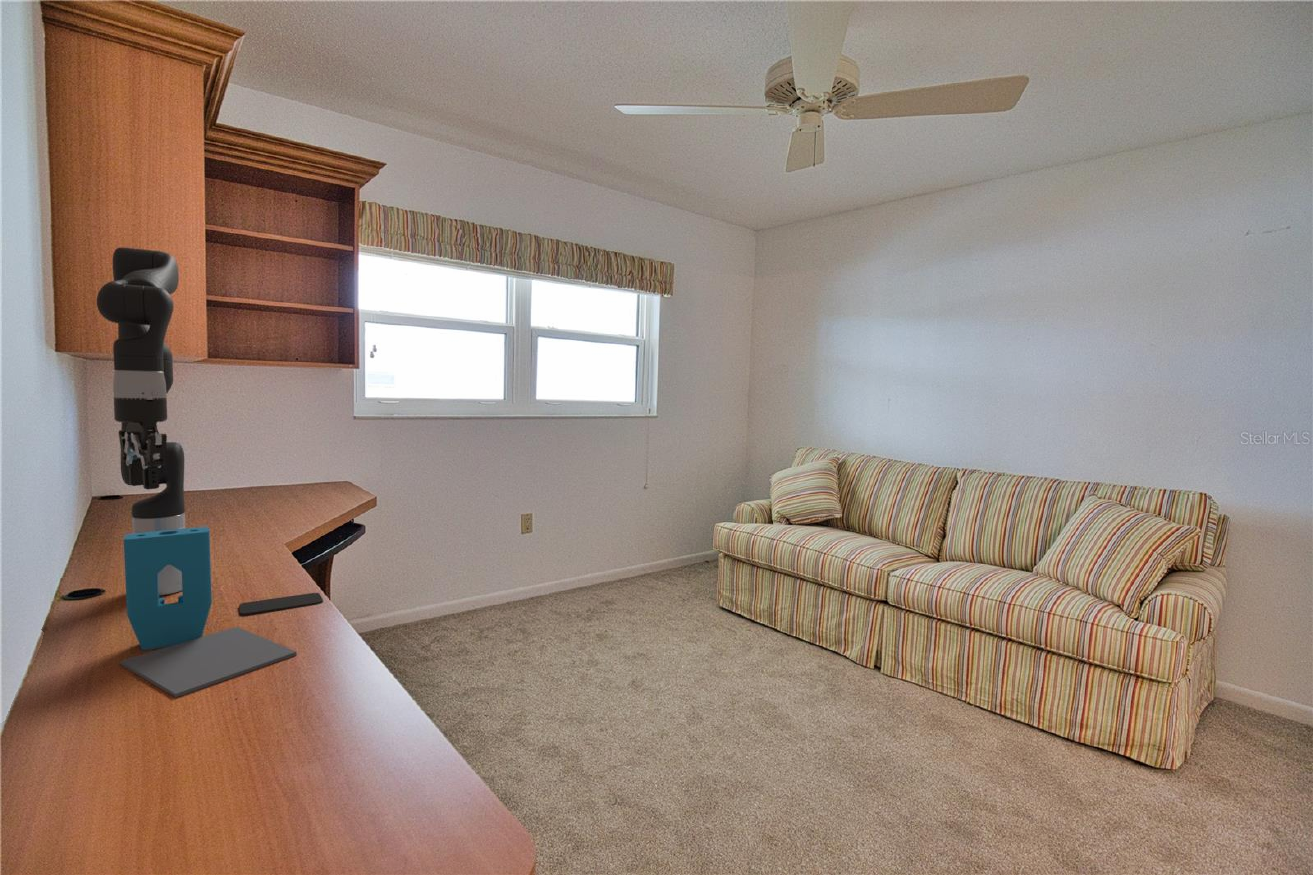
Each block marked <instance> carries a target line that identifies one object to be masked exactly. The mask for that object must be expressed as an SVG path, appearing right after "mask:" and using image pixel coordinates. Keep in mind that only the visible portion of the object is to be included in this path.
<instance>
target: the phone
mask: <svg viewBox="0 0 1313 875" xmlns="http://www.w3.org/2000/svg"><path fill="white" fill-rule="evenodd" d="M323 603H324V599H323V598H322V596H321V594H320V593H319V592H309V593H303V594H302V593H301V594H296V595H290V596H282V597H276V598H275V597H274V598H269V599H260V600H255V601H247V602H242V603H239V605H238V608H239V611H238V612H239V616H241V617H246V616H254V615H260V614H265V613H266V614H267V613H272V612H278V611H285V610H290V609H297V608H304V607H308V606H315V605H319V604H323Z"/></svg>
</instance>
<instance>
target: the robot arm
mask: <svg viewBox="0 0 1313 875" xmlns="http://www.w3.org/2000/svg"><path fill="white" fill-rule="evenodd" d="M112 254H113V255H112V263H111V264H112V274H113V280H112V281H109V282H107V283H104V285H103V286H101V288H100V289H99V291H98V293H97V296H96V307H97V310H98V312H99V314H100V315H101V316H102V317H103V318H104V319H105V320H107V321H109V322H112V323H115V324H117V331H118V333H117V335H118V336H117V339H115V340H114V342H113V345H112V349H113V350H112V354H113V367H114V371H113V372H114V374H113V379H112V390H113V391H112V392H113V413H114V421H116V422H118V423H121V429H119V430H118V438H119V439H118V440H119V446H120V472H121V473H120V474H121V478H122V480H123V483H124V484H125V485H127V486H133V487H137V486H142V487H143V489H145V490H153V489H154V490H155V489H159V488H160V485H164V484H165V485H166V487H164V489H163V490H161V491H160V492H159V493H156V494H155V495H152V496H150V497H147V498H144V499H141V500H138V501H136V502H134V503H133V504H132V505H131V522H132V523H131V524H132V533H142V532H153V531H164V530H175V529H186V528H187V527H186V508H185V507H186V506H185V492H184V491H185V489H184V487H185V485H184V484H185V483H184V482H185V452H184V449H183V447H182V445H181V444H180V443H179V442H174V441H170V442H169V441H168V439H167V437H168V436H167V434H166V433H159V429H158V422H166V421H167V420H168V403H167V401H168V400H167V399H168V398H167V394H168V393H169V391H170V389H171V388H172V386H173V384H174V370H173V368H174V366H173V365H174V364H173V354H172V350H171V349H170V347H169V345H167V343H166V341H165V339H166V333H167V330H168V327H169V325H170V322H171V319H172V316H173V313H174V308H175V306H174V300H173V298H172V296H171V295H172V294H173V293H175V292H176V291H177V289H178V286H179V281H180V280H179V278H180V276H179V267H178V262H177V260H176V257H174V256H173V255H172V254H170V253H168V252H164V251H160V250H151V249H143V248H141V249H140V248H133V247H121V246H120V247H117V248H116V249H115V250H114V251H113V253H112ZM158 583H159V596H165V595H166V596H167V595H171V594H174V593H178V592H182V572H181V571H180V570H178V569H177V568H175V567H173V566H172V565H167V566H166V567H164V568H163V569H162V570H161V571H160V572H159V573H158Z"/></svg>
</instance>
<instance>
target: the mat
mask: <svg viewBox="0 0 1313 875" xmlns="http://www.w3.org/2000/svg"><path fill="white" fill-rule="evenodd" d="M297 655H298V654H297V650H294V649H291V648H289V647H286V646H284V645H282V644H279V643H277V642H275V641H272V640H270V639H268V638H265V637H263V636H260V635H259V634H256V633H254V632H251V631H248V629H247V630H246V629H244V628H242V627H239V626H235V627H231V628H228V629H224V630H221V631H218V632H214V633H210V634H208V635H205V636H202V637H200V638H197V639H193V640H190V641H187V642H183V643H180V644H176V645H173V646H167V647H162V648H158V649H155V650H153V651H149V652H145V653H142V654H140V655H135V656H132V657H129V658H126V659H122V660H119V665H120V666H122V667H123V668H125V669H127V670H129V672H132V673H134V674H136V675H137V676H139V677H141V679H143V680H146V682H149V683H150V684H151V685H154V686H156V687H157V688H159V689H160V690H162V691H164V692H166V693H167V694H169V695H171V696H173V697H174V698H178V697H182V696H186V695H188V694H190V693H193V692H196V691H199V690H202V689H204V688H208V687H211V686H212V685H215V684H218V683H219V684H220V683H221V682H224V681H226V680H227V681H228V680H231V679H233V678H236V677H238V676H240V675H244V674H247V673H250V672H252V671H255V670H257V669H260V668H264V667H266V666H269V665H273V664H275V663H278V662H280V661H284V660H287V659H289V658H292V657H294V656H297Z"/></svg>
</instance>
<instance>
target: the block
mask: <svg viewBox="0 0 1313 875" xmlns="http://www.w3.org/2000/svg"><path fill="white" fill-rule="evenodd" d="M210 538H211V536H210V526H200V527H199V526H198V527H197V526H196V527H188V528H187V527H186V529H175V530H164V531H153V532H142V533H133V532H132V533H127V534H124V537H123V555H124V575H125V576H124V577H125V578H124V580H125V597H126V616H127V619H128V621H129V624H130V626H131V628H132V630H133V632H134V634H135V637H136V640H137V642H138V644H139V646H140V649H141V650H142V651H148V650H149V651H150V650H154V649H155V650H157V649H163V648H166V647H169V646H173V645H176V644H180V643H183V642H187V641H190V640H193V639H197V638H200V637H203V635H204V630H205V628H206V624H207V620H208V617H209V613H210V611H211V607H212V603H213V595H212V592H213V591H212V564H211V562H212V561H211V541H210V540H211V539H210ZM167 565H172V566H173V567H175V568H177V569H178V570H180V571H181V572H182V590H181V592H182V594H181V595H178V596H177V601H176V602H171V603H165V597H160V595H159V583H158V573H159V572H160V571H161V570H162V569H163V568H164V567H166V566H167Z"/></svg>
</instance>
